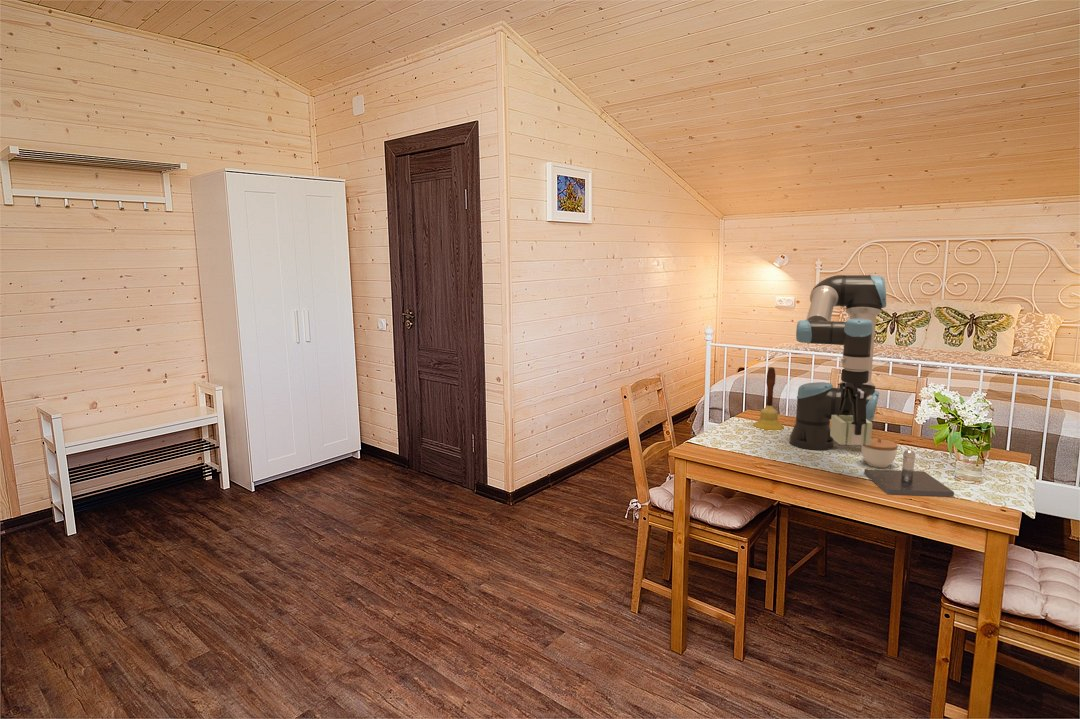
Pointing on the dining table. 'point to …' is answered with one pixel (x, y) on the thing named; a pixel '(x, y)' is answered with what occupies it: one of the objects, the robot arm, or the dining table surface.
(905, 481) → the keeper base
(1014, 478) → the dining table surface
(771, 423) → the handbell
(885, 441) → the lidded jar
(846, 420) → the square link
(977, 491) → the dining table surface
